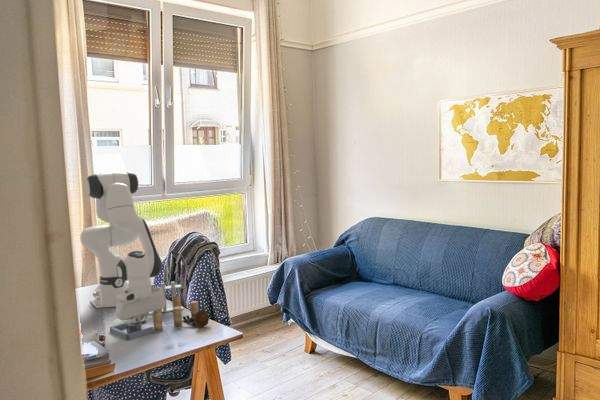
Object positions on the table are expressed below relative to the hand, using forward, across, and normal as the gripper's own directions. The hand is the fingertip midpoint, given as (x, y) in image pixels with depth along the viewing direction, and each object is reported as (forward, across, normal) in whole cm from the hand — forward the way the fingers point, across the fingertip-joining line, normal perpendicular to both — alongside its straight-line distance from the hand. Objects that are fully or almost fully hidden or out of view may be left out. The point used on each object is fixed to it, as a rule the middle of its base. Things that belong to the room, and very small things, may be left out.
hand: (142, 324), depth 198 cm
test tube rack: (+2, -14, -15) cm, 20 cm away
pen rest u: (+2, +5, 0) cm, 5 cm away
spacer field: (+2, -11, 0) cm, 12 cm away
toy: (+2, -16, +13) cm, 21 cm away
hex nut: (+2, +4, 0) cm, 4 cm away
